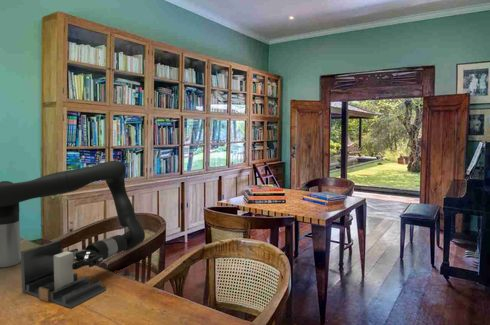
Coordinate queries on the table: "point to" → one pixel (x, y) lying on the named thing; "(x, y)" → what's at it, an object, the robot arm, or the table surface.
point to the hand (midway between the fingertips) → (64, 264)
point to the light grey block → (63, 269)
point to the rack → (42, 278)
